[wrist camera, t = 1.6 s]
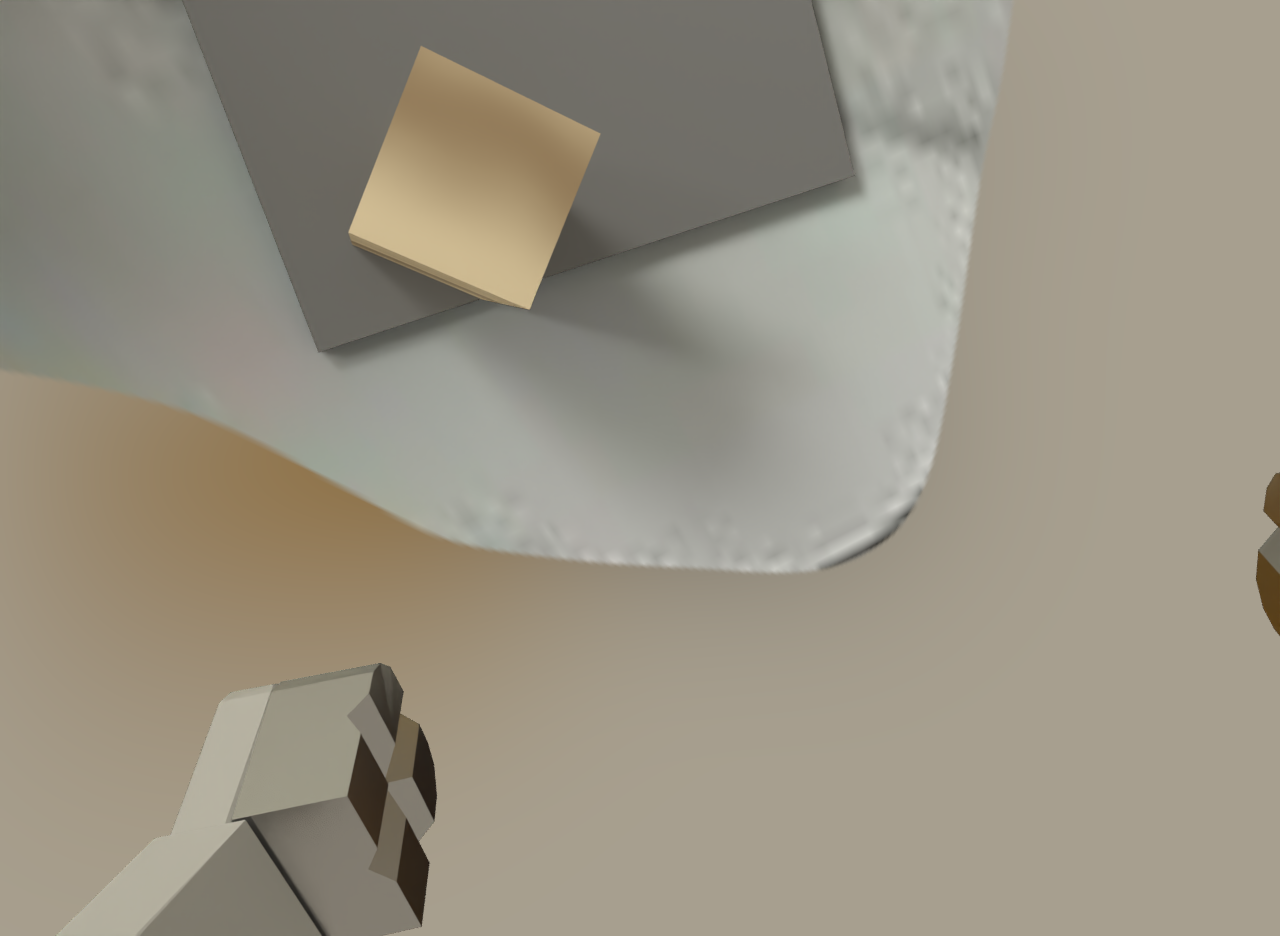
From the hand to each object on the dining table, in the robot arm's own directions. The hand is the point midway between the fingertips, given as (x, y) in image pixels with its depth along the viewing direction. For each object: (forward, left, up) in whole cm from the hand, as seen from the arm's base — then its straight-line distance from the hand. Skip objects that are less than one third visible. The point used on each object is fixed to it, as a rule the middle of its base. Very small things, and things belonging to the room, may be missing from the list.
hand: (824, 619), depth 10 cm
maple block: (+1, +6, -32) cm, 32 cm away
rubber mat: (+6, +11, -33) cm, 35 cm away
